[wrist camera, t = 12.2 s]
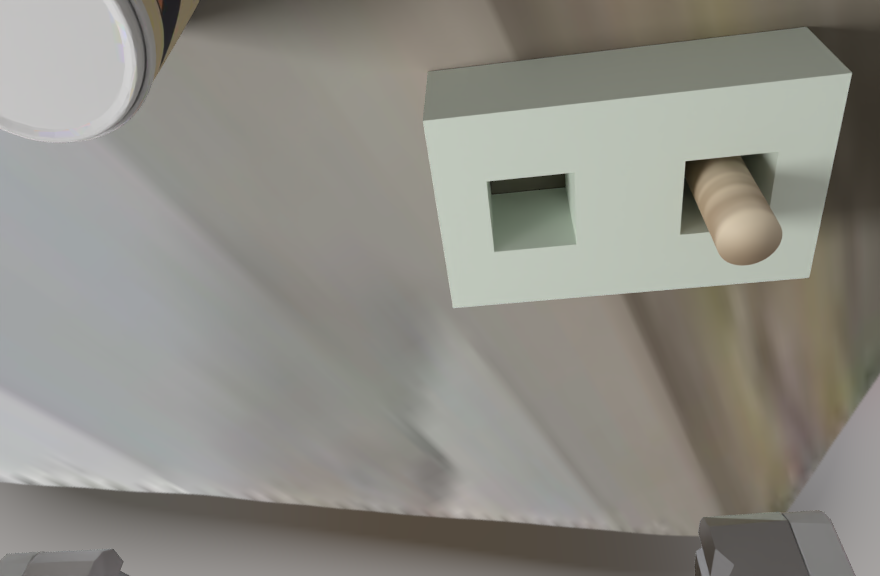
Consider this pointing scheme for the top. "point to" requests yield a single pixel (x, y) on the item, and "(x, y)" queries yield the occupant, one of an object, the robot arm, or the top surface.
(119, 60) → the coffee cup
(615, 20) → the top surface
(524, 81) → the hole block
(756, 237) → the peg
